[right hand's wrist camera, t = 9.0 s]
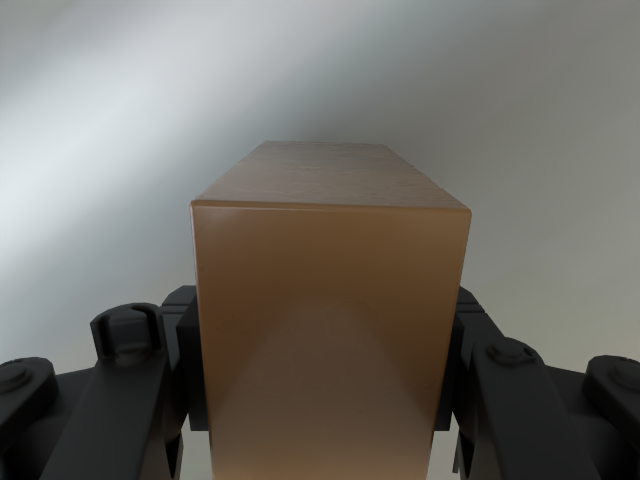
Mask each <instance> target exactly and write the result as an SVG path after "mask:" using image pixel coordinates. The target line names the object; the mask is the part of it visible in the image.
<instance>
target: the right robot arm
mask: <svg viewBox="0 0 640 480" xmlns="http://www.w3.org/2000/svg"><path fill="white" fill-rule="evenodd" d="M90 326H91V330H92V335H93V339H94V343H95V347H96V352H97V356H98V360H97V362H96V365H95V367H92V368H88V369H84V370H79V371H74V372H69V373H64V374H59V375H55V371H54V368H53V364H52V363H51V362H50V361H49V360H47V359H46V358H40V357H30V358H20V359H15V360H14V361H12V360H11V361H8V362H5V363H3V364H1V365H0V480H179V478H180V470H181V462H182V454H183V439H182V433H181V428H182V426H183V423H184V421H185V419H186V416H187V414H188V415H189V421H190V428H191V431H209V430H208V418H207V407H206V395H205V383H204V371H203V359H202V348H201V336H200V324H199V312H198V301H197V289H196V286H182V287H180V288H178V289H177V290H175V291H174V292H172V293H170V294H169V295H168V297H167V298H166V299H165V301H164V302H163V303H162V306H160V307H158V306H157V305H154V304H150V303H131V304H125V305H120V306H117V307H114V308H112V309H109V310H107V311H105V312H103V313H101V314H100V315H98V316H96V317H95V318H94V319H93V320H92V321H91V322H90ZM452 411H453V413H454V416H455V418H456V421H457V423H458V425H459V433H458V439H457V445H456V452H455V458H454V464H453V471H452V472H453V473H458V469H459V470H460V477H461V480H640V362H638V361H636V360H632V359H627V358H625V357H620V356H609V355H603V356H597V357H594V358H592V359H591V360H590V361H589V362H588V366H587V369H586V373H580V372H575V371H570V370H565V369H560V368H555V367H551V366H547V365H545V364H544V362H543V360H542V358H541V357H540V356H539V354H538V353H537V352H536V351H535V350H534V349H532V348H531V347H529V346H528V345H527V344H525V343H523V342H520V341H518V340H515V339H513V338H508V337H504V335H503V334H502V333H501V331H500V330H499V329H498V327H497V326H496V325H495V323H494V322H493V321H492V320H491V318H490V317H489V316H488V314H487V313H485V310H484V309H483V308H482V306H481V305H479V303H478V301H477V300H476V299H475V297H474V296H473V295H472V293H471V292H469V291H467V290H466V289H464V288H463V287H461V286H459V291H458V297H457V303H456V309H455V314H454V320H453V326H452V332H451V338H450V343H449V349H448V355H447V361H446V367H445V372H444V378H443V384H442V390H441V395H440V401H439V407H438V413H437V419H436V424H435V430H434V431H449V430H450V423H451V417H452Z"/></svg>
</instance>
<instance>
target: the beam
mask: <svg viewBox="0 0 640 480" xmlns="http://www.w3.org/2000/svg"><path fill="white" fill-rule="evenodd" d="M471 216H472V213H471V210H470V209H469V208H467V207H466V206H465V205H463V204H462V203H461V202H459V201H458V200H457V199H455V198H454V197H453V196H451V195H450V194H449V193H447V192H446V191H445V190H443V189H442V188H441V187H439V186H438V185H437V184H435V183H434V182H433V181H431V180H430V179H429V178H427V177H426V176H425V175H423V174H422V173H421V172H419V171H418V170H417V169H415V168H414V167H413V166H411V165H410V164H409V163H407V162H406V161H404V160H403V159H402V158H400V157H399V156H398V155H396V154H395V153H394V152H392V151H391V150H390V149H388V148H387V147H386V146H384V145H381V144H351V143H321V142H291V141H264V142H263V143H262V144H261V145H260V146H258V147H257V148H256V149H255V150H253V151H252V152H251V153H250V154H248V155H247V156H246V157H245V158H244V159H242V160H241V161H240V162H239V163H237V164H236V165H235V166H234V167H232V168H231V169H230V170H229V171H228V172H226V173H225V174H224V175H223V176H221V177H220V178H219V179H218V180H216V181H215V182H214V183H213V184H211V185H210V186H209V187H208V188H207V189H205V190H204V191H203V192H202V193H200V194H199V195H198V196H197V197H195V198H194V199H193V200H192V201H191V203H190V218H191V230H192V242H193V254H194V265H195V277H196V289H197V301H198V312H199V324H200V336H201V348H202V359H203V371H204V383H205V395H206V407H207V418H208V430H209V442H210V454H211V465H212V477H213V480H426V476H427V471H428V465H429V459H430V453H431V448H432V442H433V436H434V430H435V424H436V419H437V413H438V407H439V401H440V395H441V390H442V384H443V378H444V372H445V367H446V361H447V355H448V349H449V343H450V338H451V332H452V326H453V320H454V314H455V309H456V303H457V297H458V291H459V286H460V280H461V274H462V268H463V262H464V257H465V251H466V245H467V239H468V233H469V228H470V222H471Z"/></svg>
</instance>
